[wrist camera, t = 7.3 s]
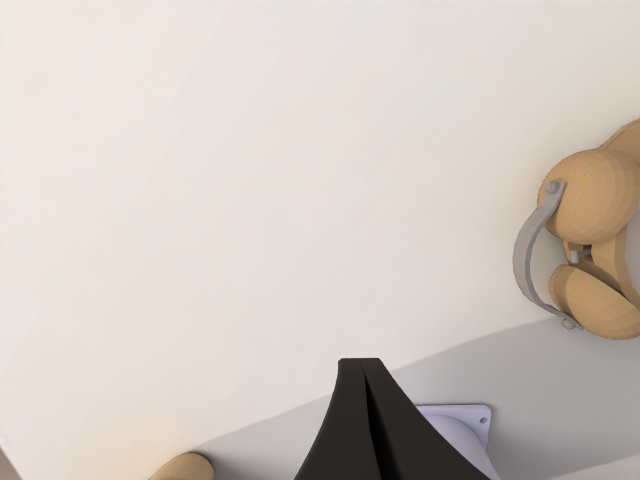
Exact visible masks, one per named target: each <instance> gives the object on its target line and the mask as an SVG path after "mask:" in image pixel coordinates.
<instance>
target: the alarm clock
mask: <svg viewBox="0 0 640 480" xmlns="http://www.w3.org/2000/svg"><path fill="white" fill-rule="evenodd" d="M537 202H538V208H537V209H536V210H535V211H534V212H533V213H532V215H531V216H530V217H529V218H528V219H527V221H526V222H525V224H524V225H523V227H522V228H521V230H520V232H519V234H518V237H517V239H516V242H515V245H514V253H513V272H514V275H515V278H516V281H517V284H518V286H519V288H520V289H521V291H522V293H523V294H524V295H525V296H526V297H527V298H528V299H529V300H530V301H532V302H533V303H535V304H536V305H538V306H540V307H541V308H543V309H545V310H547V311H548V312H550V313H552V314H556V315H559V316H561V317H564V318H565V319H564V320H563V324H562V325H563V326H564V327H565V328H567V329H573V328H575V327H578V328H579V329H581V330H583V329H585V330H587V331H589V332H591V333H593V334H595V335H598V336H601V337H604V338H608V339H615V340H623V339H630V338H635V337H637V336H640V118H639V119H637V120H635V121H633V122H631V123H629V124H627V125H625V126H623V127H622V128H621V129H620V130H618V131H617V132H616V133H615V134H614V135H613V136H612V137H611V138H610V139H609V140H607V141H606V142H605V143H604V144H603V145H602V146H601V147H600V148H599V149H591V150H586V151H581V152H578V153H575V154H573V155H571V156H569V157H567V158H565V159H563V160H562V161H561V162H559V163H558V164H557V165H556V166H555V167H554V168H553V169H552V170H551V171H550V172H549V174H548V175H547V176H546V178H545V179H544V180H543V183H542V185H541V187H540V189H539V194H538V199H537ZM543 225H544V226H545V227H546V228H547V229H548V231H549V232H551V233H552V234H553V235H555V236H557V237H559V238H561V239H562V240H563V246H564V249H565V252H566V256H567V259H568V262H569V265H570V266H568V265H560V266H559V267H558V268H557V269H556V270H555V272H554V273H553V275H552V276H551V278H550V281H549V290H550V294H551V297H552V299H553V301H554V302H555V304H556V305H557V307H558V308H559V309H560V310H561V311H562V312H561V311H559V310H558V309H556V308H554V307H552V306H551V305H548V304H545V303H544V302H543V301H541V300H540V298H539V297H538V295H537V293H536V291H535V289H534V287H533V284H532V280H531V277H530V258H531V251H532V247H533V244H534V242H535V239H536V237H537V235H538V233H539V232H540V230H541V228H542V227H543Z"/></svg>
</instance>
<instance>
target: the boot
mask: <svg viewBox="0 0 640 480" xmlns="http://www.w3.org/2000/svg"><path fill="white" fill-rule="evenodd" d="M149 480H214V470H213V467H212V466H211V464H210V463H209V461H208V460H207V459H206V458H204V457H203V456H201V455H199V454H196V453H184V454H182V455H179V456H177V457H175V458H173V459H172V460H170V461H169V462H168V463H166V464H165V465H164V466H163V467H162V468H161V469H159V470H158V471H157V472H156V473H155V474H154V475H153V476H152V477H151V478H150V479H149Z"/></svg>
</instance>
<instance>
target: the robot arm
mask: <svg viewBox="0 0 640 480" xmlns="http://www.w3.org/2000/svg"><path fill="white" fill-rule="evenodd" d="M491 416H492V411H491V410H490V408H489V407H488V406H487V405H435V406H415V405H414V404H413V403H412V402H411V400H410V399H409V398H408V397H407V395H406V394H405V393H404V392H403V390H402V389H401V388H400V387H399V385H398V384H397V383H396V381H395V380H394V379H393V377H392V376H391V374H390V373H389V371H388V370H387V369H386V367H385V366H384V364H383V363H382V361H381V360H380V359H379V358H342V359H340V360H339V361H338V375H337V380H336V385H335V389H334V392H333V395H332V399H331V402H330V405H329V408H328V410H327V413H326V415H325V418H324V421H323V423H322V426H321V428H320V430H319V433H318V435H317V437H316V439H315V441H314V443H313V445H312V447H311V449H310V451H309V453H308V455H307V457H306V459H305V461H304V463H303V464H302V466H301V468H300V470H299V472H298V473H297V475H296V477H295V478H294V480H500V478H499V476H498V474H497V472H496V470H495V469H494V467H493V465H492V463H491V461H490V459H489V458H488V456H487V454H486V450H487V443H488V436H489V430H490V423H491ZM481 418H483V419H481Z"/></svg>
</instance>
